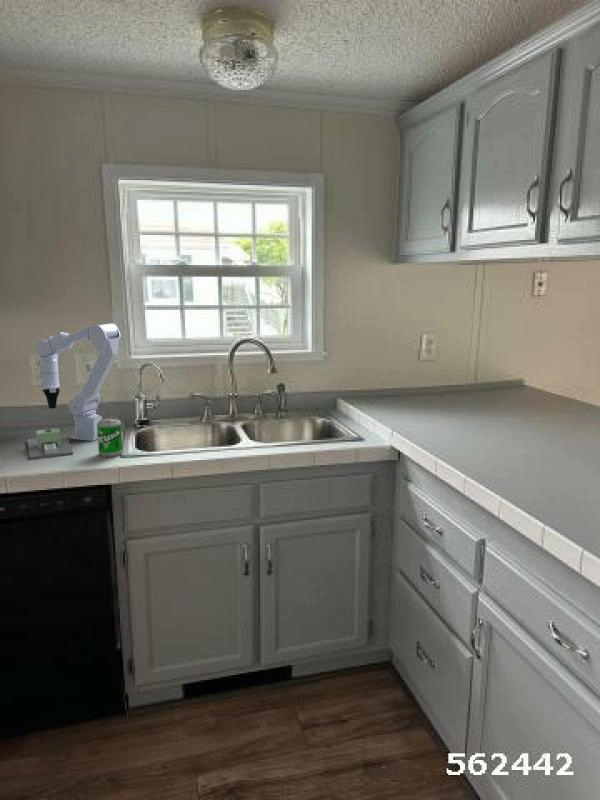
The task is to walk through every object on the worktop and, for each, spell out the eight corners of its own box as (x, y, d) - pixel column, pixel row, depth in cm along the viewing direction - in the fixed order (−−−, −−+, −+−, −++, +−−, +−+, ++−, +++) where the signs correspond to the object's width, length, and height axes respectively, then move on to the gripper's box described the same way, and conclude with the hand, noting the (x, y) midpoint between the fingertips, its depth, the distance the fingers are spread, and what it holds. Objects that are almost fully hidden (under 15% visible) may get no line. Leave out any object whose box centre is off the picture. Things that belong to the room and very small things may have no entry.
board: (66, 437, 202) (66, 431, 201) (72, 454, 183) (72, 447, 182) (27, 441, 196) (26, 435, 195) (29, 459, 177) (29, 452, 176)
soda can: (102, 451, 187) (100, 416, 184) (124, 450, 188) (123, 416, 185) (96, 457, 180) (93, 422, 177) (119, 457, 180) (117, 422, 178)
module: (59, 442, 193) (58, 426, 192) (60, 446, 189) (59, 430, 187) (37, 444, 190) (36, 428, 188) (38, 448, 185) (37, 432, 184)
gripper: (36, 369, 206) (39, 404, 209) (39, 376, 193) (42, 413, 196) (56, 368, 209) (59, 403, 212) (60, 374, 197) (63, 411, 200)
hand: (52, 408), depth 204 cm, fingers closed
